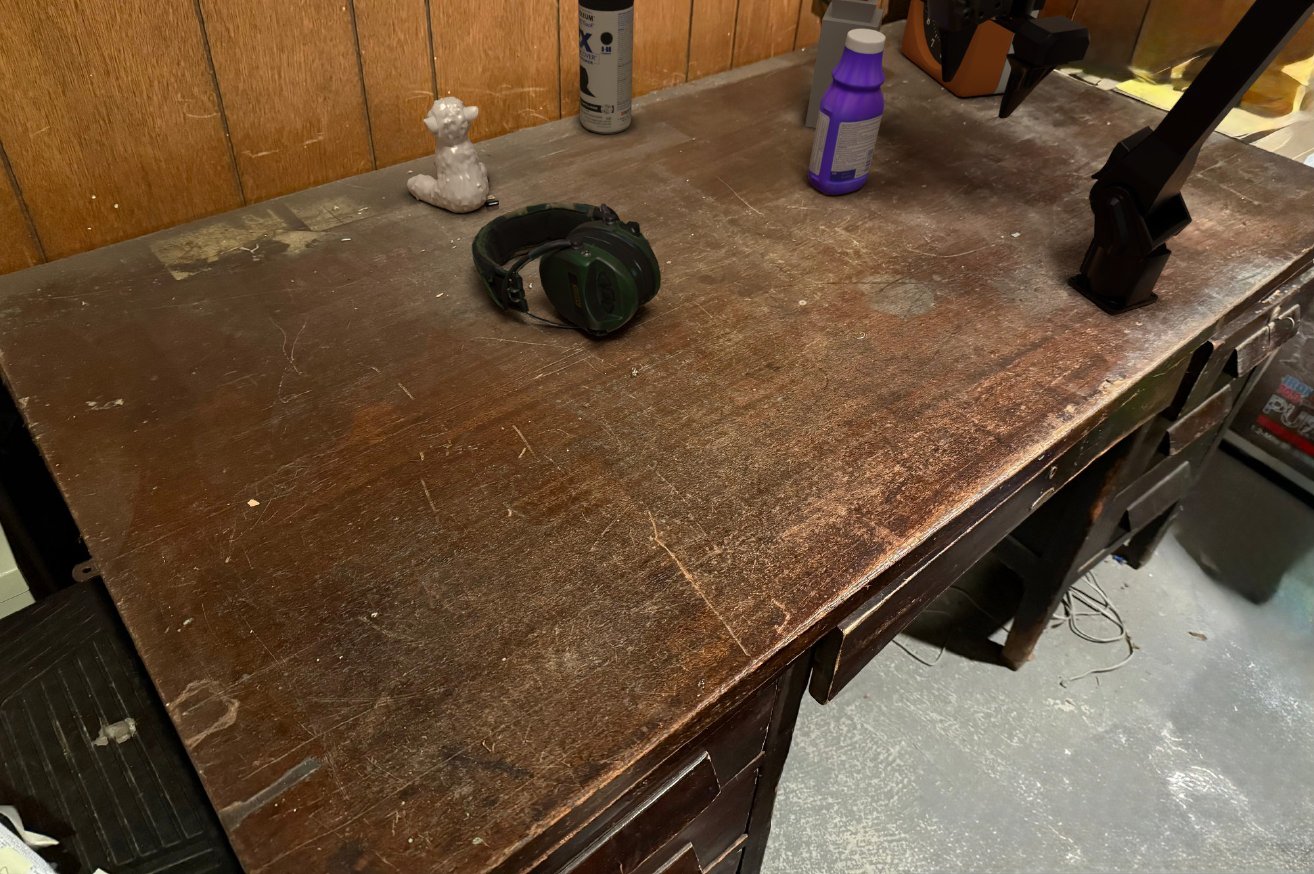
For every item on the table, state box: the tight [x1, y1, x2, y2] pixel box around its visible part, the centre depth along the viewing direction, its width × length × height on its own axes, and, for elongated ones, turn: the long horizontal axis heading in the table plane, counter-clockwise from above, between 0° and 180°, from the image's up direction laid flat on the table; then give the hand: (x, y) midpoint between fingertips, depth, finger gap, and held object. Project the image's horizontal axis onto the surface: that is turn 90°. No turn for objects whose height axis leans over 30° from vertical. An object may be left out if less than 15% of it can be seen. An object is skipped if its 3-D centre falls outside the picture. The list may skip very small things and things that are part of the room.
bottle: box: [807, 29, 887, 196], centre depth 100 cm, size 7×6×17 cm
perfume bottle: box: [804, 0, 885, 129], centre depth 113 cm, size 7×7×18 cm
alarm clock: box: [901, 0, 1040, 98], centre depth 125 cm, size 18×9×21 cm, turn 17°
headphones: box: [471, 201, 662, 337], centre depth 85 cm, size 13×13×20 cm
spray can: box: [577, 0, 635, 135], centre depth 109 cm, size 7×7×20 cm
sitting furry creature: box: [406, 96, 490, 214], centre depth 96 cm, size 10×9×12 cm
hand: (974, 99), depth 93 cm, fingers open, 9 cm apart
